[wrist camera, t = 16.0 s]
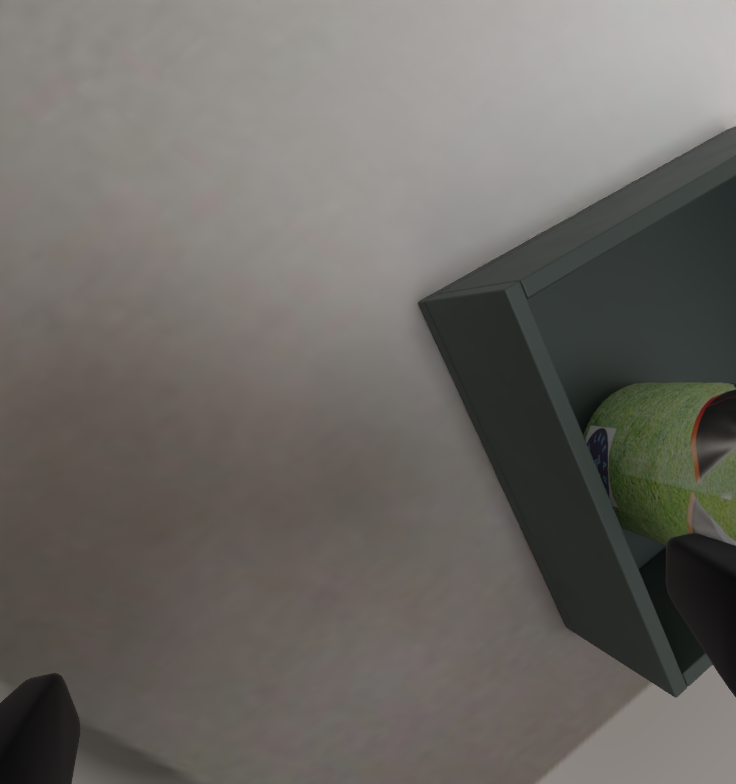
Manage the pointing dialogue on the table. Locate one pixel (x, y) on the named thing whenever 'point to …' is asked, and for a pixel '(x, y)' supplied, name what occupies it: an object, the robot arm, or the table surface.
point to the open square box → (599, 382)
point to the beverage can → (669, 458)
